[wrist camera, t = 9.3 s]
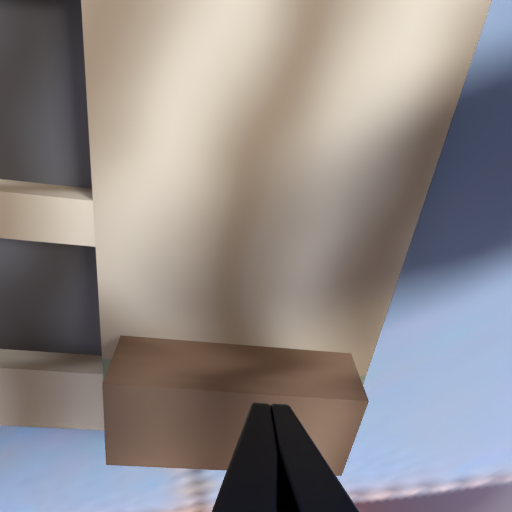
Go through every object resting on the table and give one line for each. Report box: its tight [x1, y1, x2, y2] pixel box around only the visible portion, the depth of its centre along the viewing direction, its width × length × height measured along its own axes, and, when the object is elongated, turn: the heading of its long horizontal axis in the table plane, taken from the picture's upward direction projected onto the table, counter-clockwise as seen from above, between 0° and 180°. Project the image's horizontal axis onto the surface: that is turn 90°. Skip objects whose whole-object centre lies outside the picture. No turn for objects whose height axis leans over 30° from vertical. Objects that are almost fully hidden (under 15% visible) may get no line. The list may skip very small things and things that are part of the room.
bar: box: [102, 335, 369, 476], centre depth 19 cm, size 11×5×3 cm, turn 82°
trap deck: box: [0, 0, 492, 430], centre depth 18 cm, size 20×22×2 cm
